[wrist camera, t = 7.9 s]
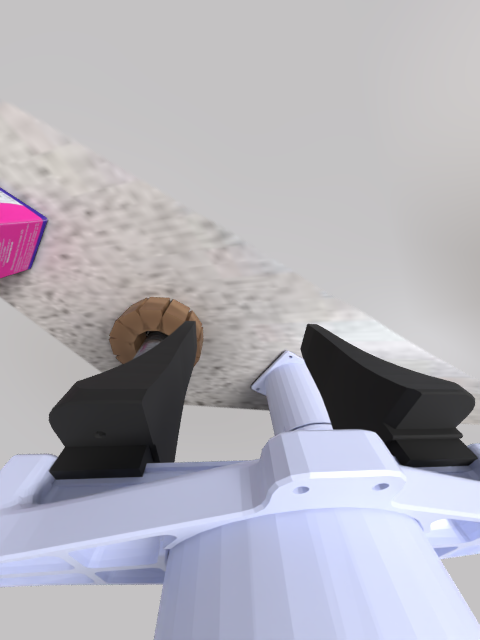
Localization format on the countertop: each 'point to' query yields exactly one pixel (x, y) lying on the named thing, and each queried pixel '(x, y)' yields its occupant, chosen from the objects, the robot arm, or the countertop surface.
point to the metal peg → (151, 341)
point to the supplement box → (18, 234)
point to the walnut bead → (150, 325)
